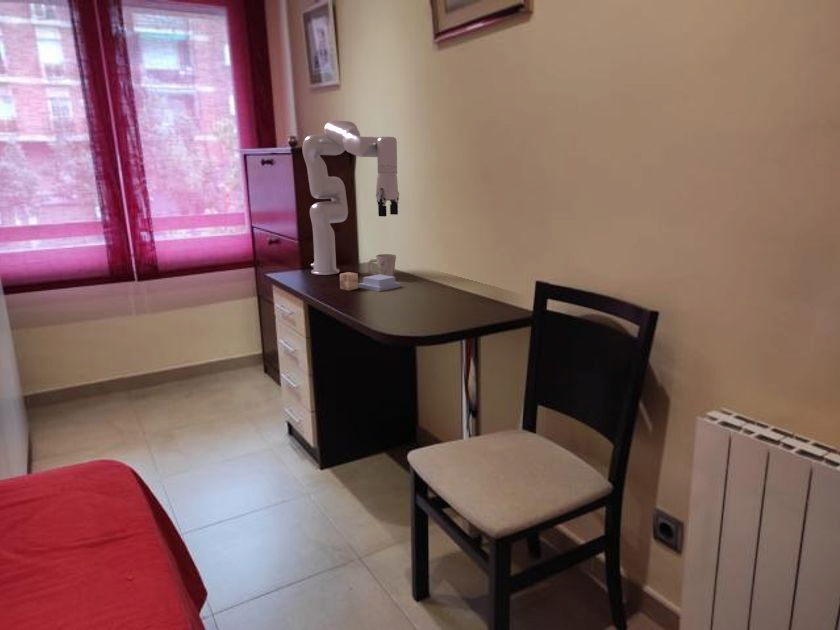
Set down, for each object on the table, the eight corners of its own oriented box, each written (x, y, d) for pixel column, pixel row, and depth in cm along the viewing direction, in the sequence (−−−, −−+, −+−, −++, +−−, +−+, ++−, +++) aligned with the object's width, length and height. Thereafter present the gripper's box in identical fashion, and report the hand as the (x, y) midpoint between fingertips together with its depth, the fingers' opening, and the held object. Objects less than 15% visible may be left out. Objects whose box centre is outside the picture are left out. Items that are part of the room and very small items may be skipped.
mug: (395, 280, 250) (395, 257, 247) (365, 280, 250) (365, 257, 247) (396, 276, 258) (396, 254, 255) (368, 276, 258) (367, 254, 255)
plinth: (358, 287, 236) (358, 277, 235) (379, 282, 245) (379, 273, 244) (379, 291, 228) (379, 281, 227) (400, 286, 237) (400, 276, 236)
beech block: (340, 288, 234) (339, 273, 232) (349, 286, 237) (349, 272, 236) (348, 290, 231) (348, 275, 229) (358, 288, 234) (357, 273, 233)
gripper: (389, 170, 235) (390, 213, 239) (367, 170, 220) (369, 216, 224) (406, 170, 232) (406, 214, 236) (385, 170, 217) (386, 217, 221)
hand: (388, 215), depth 230 cm, fingers open, 9 cm apart
